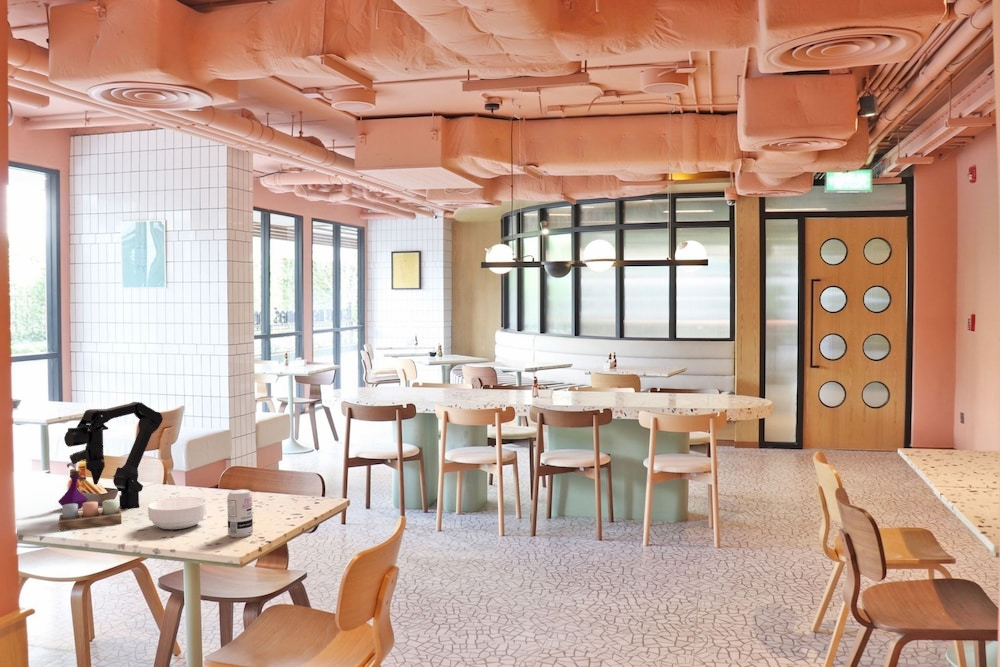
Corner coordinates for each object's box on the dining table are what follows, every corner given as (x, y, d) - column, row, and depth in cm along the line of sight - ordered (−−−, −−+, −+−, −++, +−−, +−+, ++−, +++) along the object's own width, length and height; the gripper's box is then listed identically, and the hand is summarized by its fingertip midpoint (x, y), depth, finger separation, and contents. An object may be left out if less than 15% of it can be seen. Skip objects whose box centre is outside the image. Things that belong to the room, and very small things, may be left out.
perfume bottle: (88, 506, 319) (87, 461, 318) (72, 511, 312) (71, 465, 311) (73, 505, 321) (72, 460, 321) (57, 509, 314) (56, 464, 314)
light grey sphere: (78, 515, 295) (77, 502, 295) (78, 518, 290) (77, 505, 290) (62, 517, 292) (62, 504, 292) (62, 520, 288) (62, 507, 288)
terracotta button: (98, 513, 298) (97, 500, 297) (98, 516, 293) (97, 503, 293) (82, 515, 295) (82, 502, 295) (82, 518, 291) (82, 505, 291)
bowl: (142, 525, 291) (142, 502, 291) (198, 516, 303) (198, 494, 303) (156, 537, 276) (155, 512, 275) (214, 527, 287) (214, 504, 287)
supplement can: (231, 531, 282) (230, 489, 281) (255, 531, 282) (254, 488, 282) (225, 538, 274) (224, 494, 273) (250, 537, 274) (249, 493, 274)
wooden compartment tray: (120, 516, 304) (120, 508, 304) (121, 523, 294) (121, 515, 293) (60, 522, 295) (59, 514, 295) (59, 530, 284) (58, 522, 284)
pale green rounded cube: (117, 511, 301) (117, 498, 300) (117, 514, 296) (117, 501, 296) (102, 513, 298) (102, 500, 298) (102, 516, 294) (102, 503, 294)
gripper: (71, 440, 310) (72, 481, 310) (70, 448, 293) (71, 490, 294) (103, 438, 315) (104, 478, 315) (104, 445, 298) (105, 487, 299)
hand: (95, 483), depth 306 cm, fingers open, 3 cm apart
